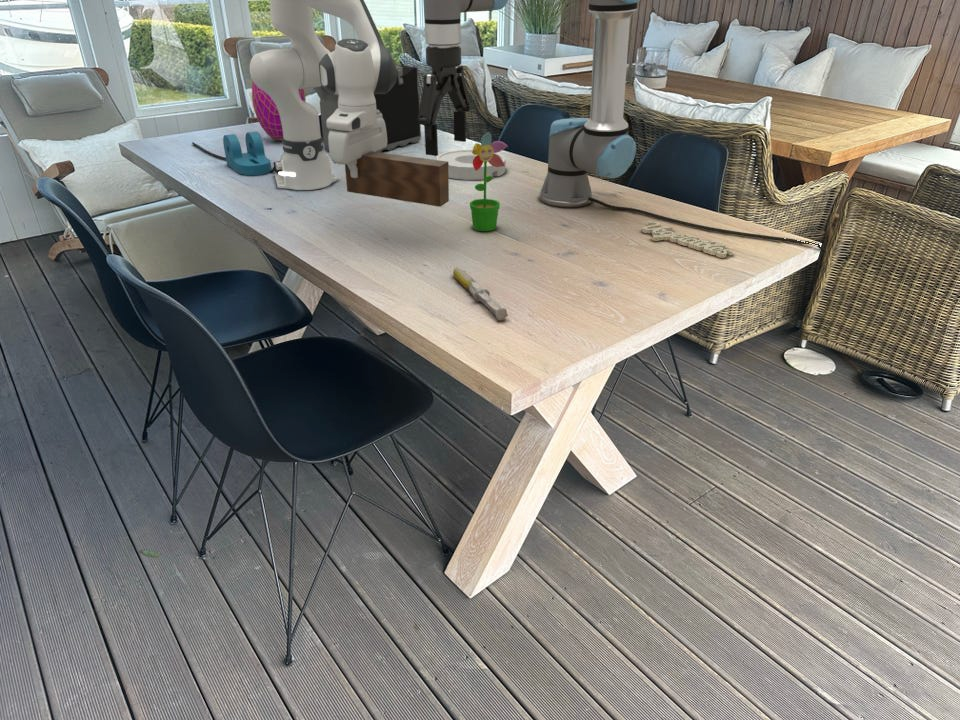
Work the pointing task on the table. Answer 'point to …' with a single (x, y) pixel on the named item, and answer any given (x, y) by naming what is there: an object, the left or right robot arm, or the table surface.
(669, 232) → the decorative sign
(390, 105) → the electronic device
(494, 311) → the syringe
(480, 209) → the potted flower
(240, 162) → the camera mount
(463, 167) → the ashtray
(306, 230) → the table surface
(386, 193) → the bar
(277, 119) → the decorative egg
